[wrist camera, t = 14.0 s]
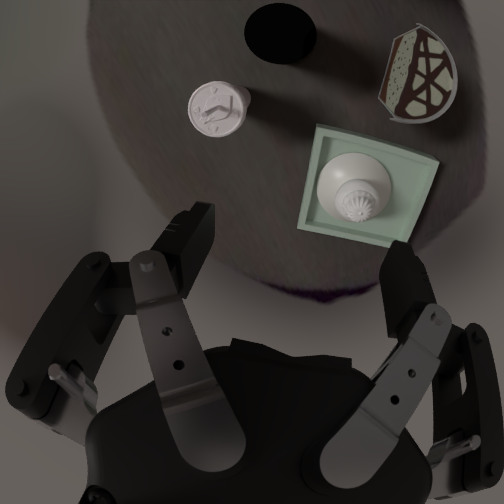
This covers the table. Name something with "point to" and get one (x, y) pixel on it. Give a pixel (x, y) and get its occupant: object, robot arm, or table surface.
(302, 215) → the tray
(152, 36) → the table surface
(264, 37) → the supplement container
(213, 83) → the smoothie
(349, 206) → the muffin
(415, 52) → the food container
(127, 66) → the table surface
